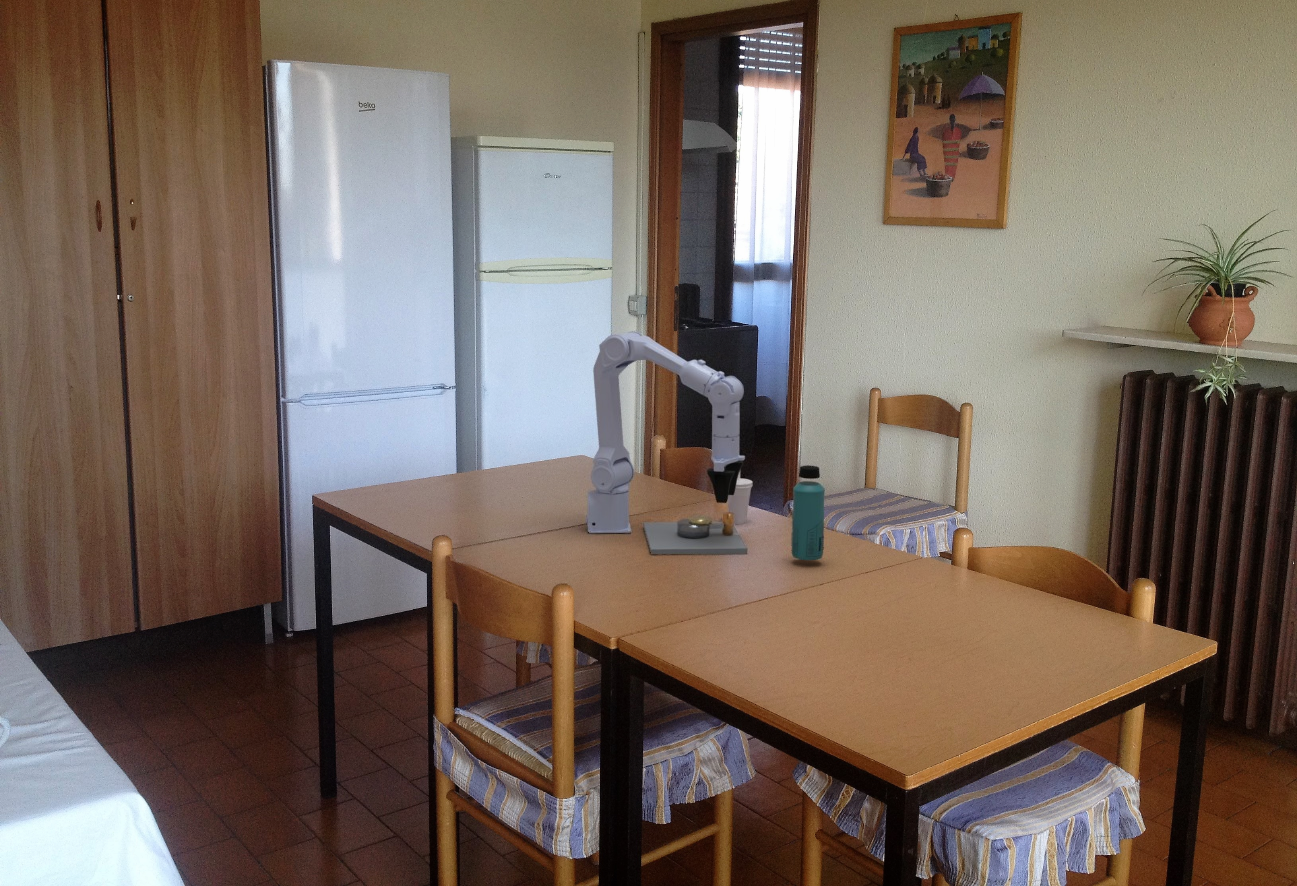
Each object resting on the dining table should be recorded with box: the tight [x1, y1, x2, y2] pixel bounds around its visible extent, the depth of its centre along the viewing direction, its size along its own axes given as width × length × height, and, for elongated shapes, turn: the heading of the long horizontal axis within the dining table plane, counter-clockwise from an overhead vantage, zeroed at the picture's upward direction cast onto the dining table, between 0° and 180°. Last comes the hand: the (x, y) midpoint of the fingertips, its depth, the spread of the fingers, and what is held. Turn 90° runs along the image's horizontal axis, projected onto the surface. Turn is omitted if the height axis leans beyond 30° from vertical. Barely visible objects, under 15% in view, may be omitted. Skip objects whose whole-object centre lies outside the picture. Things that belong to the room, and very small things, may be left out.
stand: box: [642, 521, 748, 555], centre depth 250 cm, size 20×22×1 cm
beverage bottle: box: [790, 464, 826, 561], centre depth 233 cm, size 6×7×20 cm
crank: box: [677, 511, 735, 538], centre depth 250 cm, size 12×7×4 cm, turn 94°
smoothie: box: [727, 471, 754, 525], centre depth 265 cm, size 6×6×14 cm
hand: (725, 498), depth 245 cm, fingers open, 7 cm apart
